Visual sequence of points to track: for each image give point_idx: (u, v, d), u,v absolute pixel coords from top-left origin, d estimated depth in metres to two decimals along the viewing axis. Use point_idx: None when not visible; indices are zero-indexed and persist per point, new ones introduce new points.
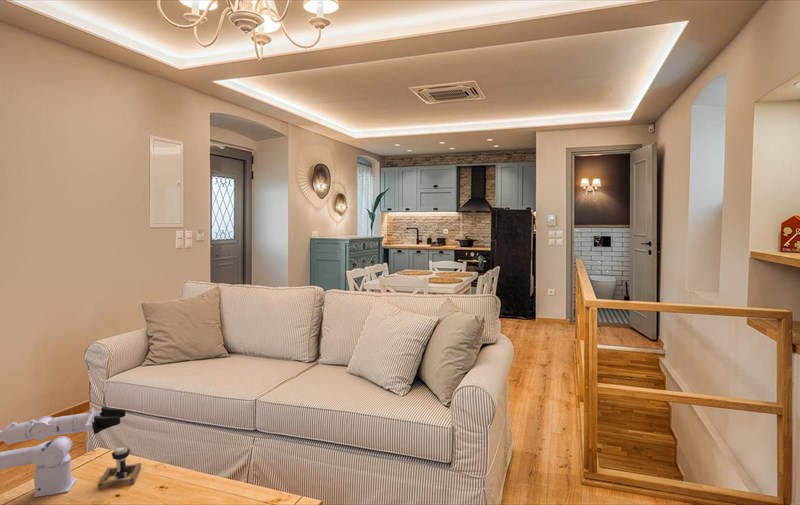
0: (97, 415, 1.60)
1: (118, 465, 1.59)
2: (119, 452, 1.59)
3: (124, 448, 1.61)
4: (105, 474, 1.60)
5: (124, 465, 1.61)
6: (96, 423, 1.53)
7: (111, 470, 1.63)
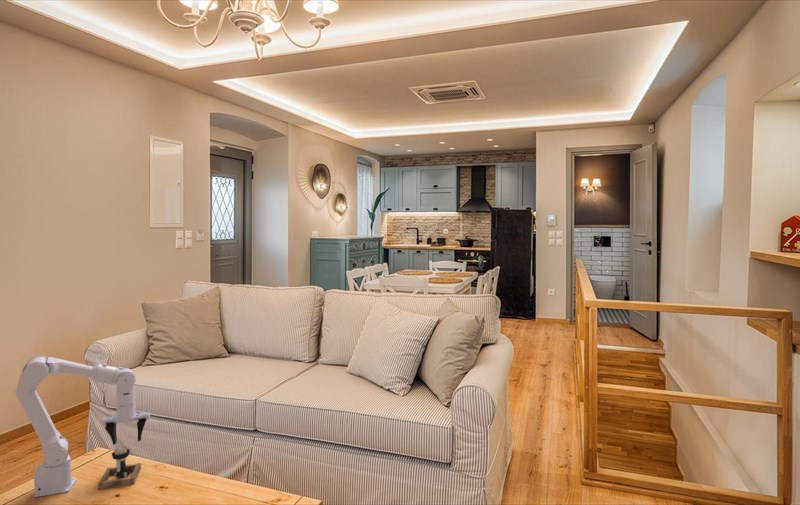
0: None
1: (118, 465, 1.59)
2: (119, 452, 1.59)
3: (124, 448, 1.61)
4: (105, 474, 1.60)
5: (124, 465, 1.61)
6: None
7: (111, 470, 1.63)
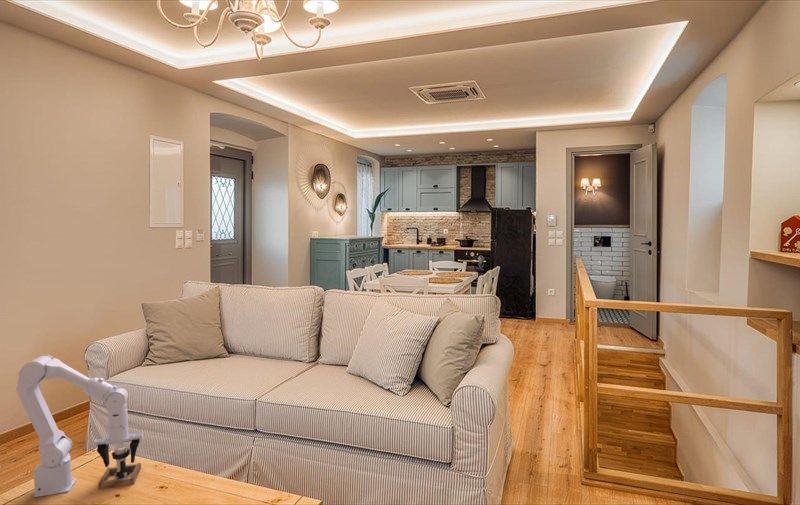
0: None
1: (118, 465, 1.59)
2: (119, 452, 1.59)
3: (124, 448, 1.61)
4: (105, 474, 1.60)
5: (124, 465, 1.61)
6: None
7: (111, 470, 1.63)
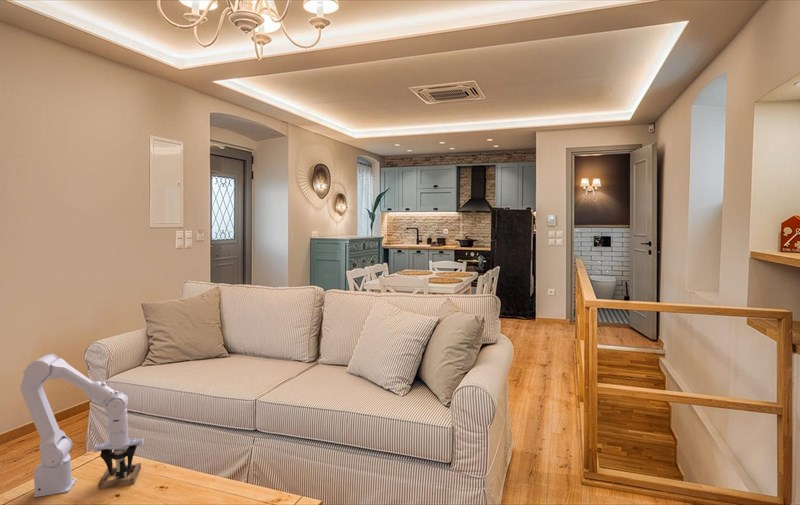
0: None
1: (117, 465, 1.59)
2: (118, 452, 1.59)
3: (123, 448, 1.61)
4: (105, 474, 1.60)
5: (124, 465, 1.61)
6: None
7: None
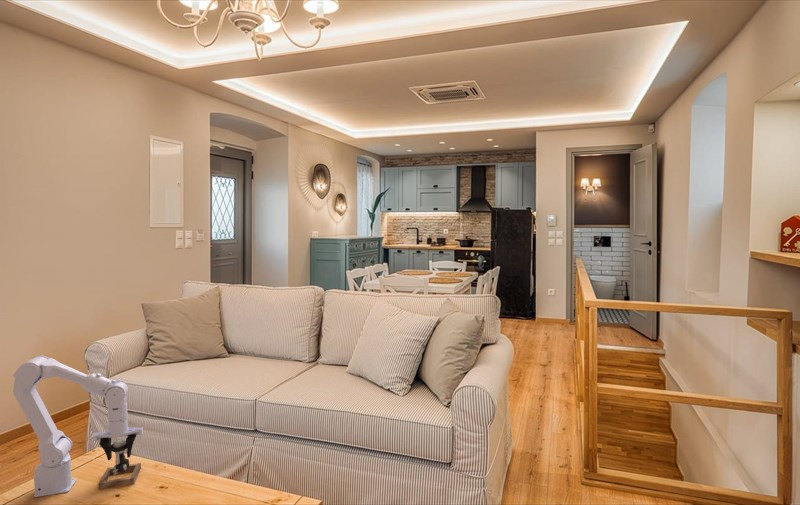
0: None
1: (117, 457, 1.59)
2: (118, 445, 1.59)
3: (122, 440, 1.61)
4: (105, 474, 1.60)
5: (123, 457, 1.61)
6: None
7: (111, 470, 1.63)
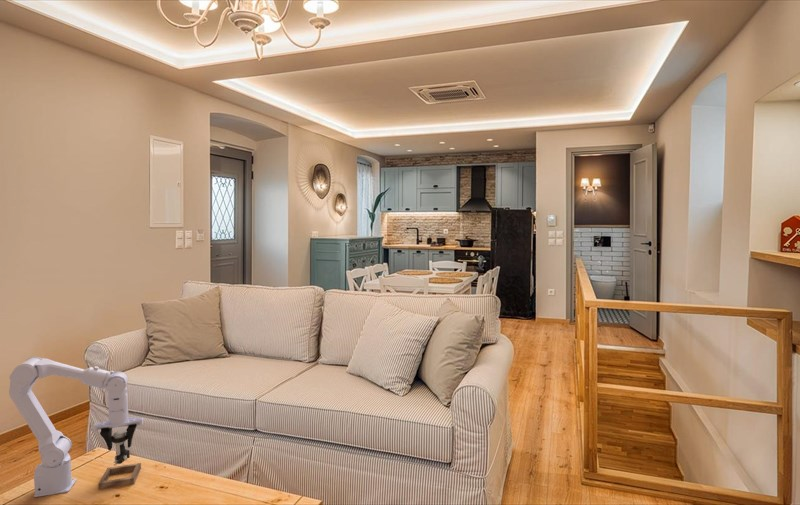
0: None
1: (118, 448, 1.60)
2: (118, 436, 1.60)
3: (123, 432, 1.62)
4: (105, 474, 1.60)
5: (124, 448, 1.62)
6: None
7: (111, 470, 1.63)
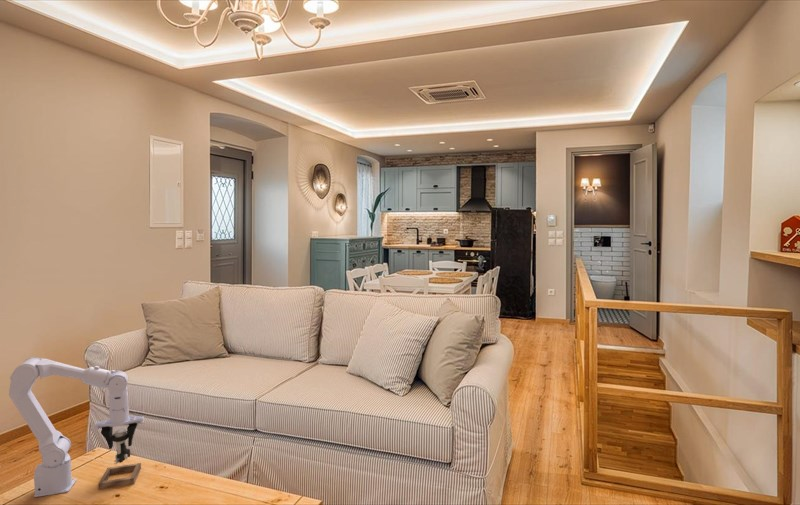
0: None
1: (118, 447, 1.61)
2: (119, 434, 1.61)
3: (124, 430, 1.63)
4: (105, 474, 1.60)
5: (124, 447, 1.63)
6: None
7: (111, 470, 1.63)
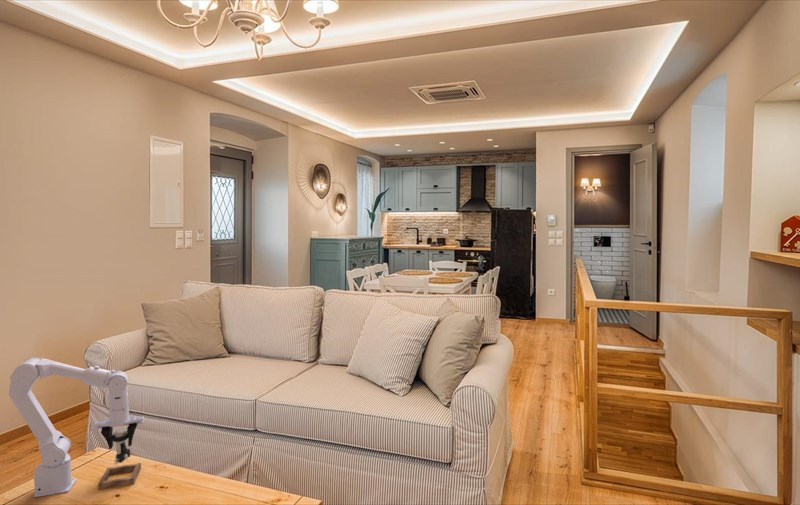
0: None
1: (118, 447, 1.61)
2: (119, 434, 1.61)
3: (124, 430, 1.63)
4: (105, 474, 1.60)
5: (124, 447, 1.63)
6: None
7: (111, 470, 1.63)
